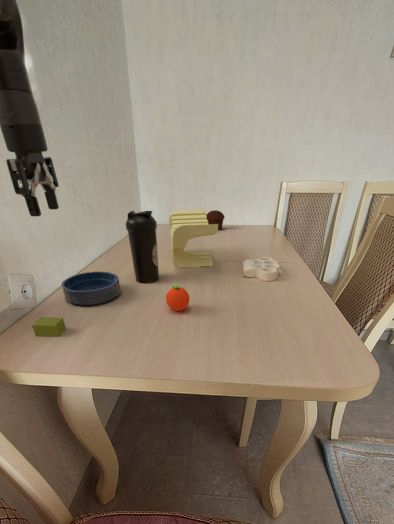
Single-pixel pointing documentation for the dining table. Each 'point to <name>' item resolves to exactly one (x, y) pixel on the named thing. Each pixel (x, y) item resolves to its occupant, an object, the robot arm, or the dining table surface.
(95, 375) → the dining table surface
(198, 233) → the slatted curved stool
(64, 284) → the bowl
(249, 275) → the white lobed compartment tray
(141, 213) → the water bottle
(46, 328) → the sponge
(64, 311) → the dining table surface
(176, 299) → the clementine
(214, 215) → the muffin
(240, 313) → the dining table surface
